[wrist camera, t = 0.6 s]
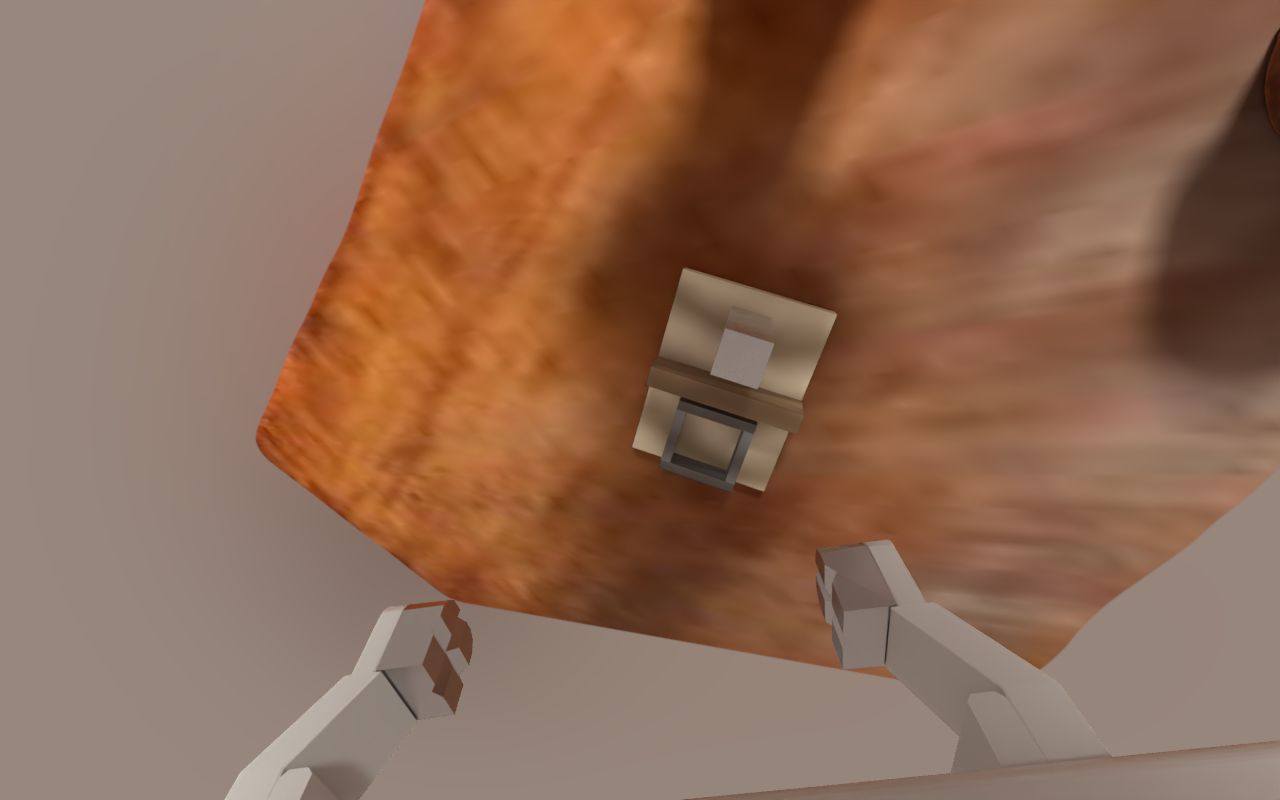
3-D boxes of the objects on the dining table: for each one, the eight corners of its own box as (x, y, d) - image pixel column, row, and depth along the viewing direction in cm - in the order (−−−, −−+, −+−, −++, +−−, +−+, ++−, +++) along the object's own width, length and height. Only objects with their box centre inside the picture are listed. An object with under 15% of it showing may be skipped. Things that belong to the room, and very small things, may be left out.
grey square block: (731, 305, 51) (725, 328, 42) (772, 317, 51) (774, 343, 41) (718, 344, 52) (710, 374, 43) (758, 356, 52) (757, 389, 43)
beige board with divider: (685, 267, 52) (676, 274, 47) (835, 311, 51) (843, 323, 46) (635, 441, 60) (623, 463, 55) (763, 484, 58) (764, 511, 53)
